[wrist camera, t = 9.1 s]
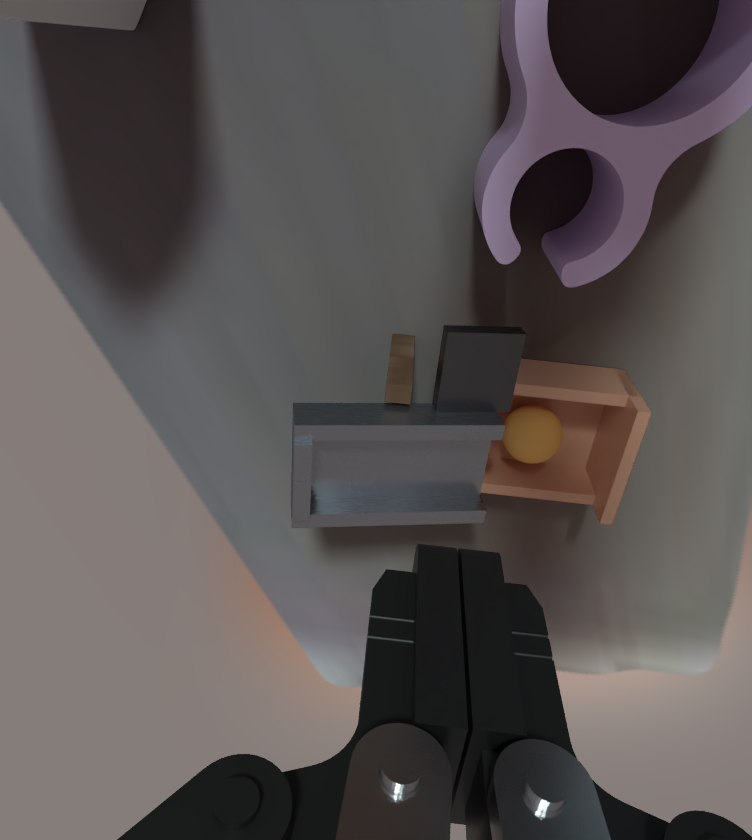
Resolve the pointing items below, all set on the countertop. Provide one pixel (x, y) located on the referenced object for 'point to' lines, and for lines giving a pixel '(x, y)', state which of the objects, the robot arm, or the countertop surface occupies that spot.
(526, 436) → the ball
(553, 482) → the cup
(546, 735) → the robot arm
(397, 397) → the stand
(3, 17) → the milk carton
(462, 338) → the tipping track
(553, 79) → the clip
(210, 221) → the countertop surface
